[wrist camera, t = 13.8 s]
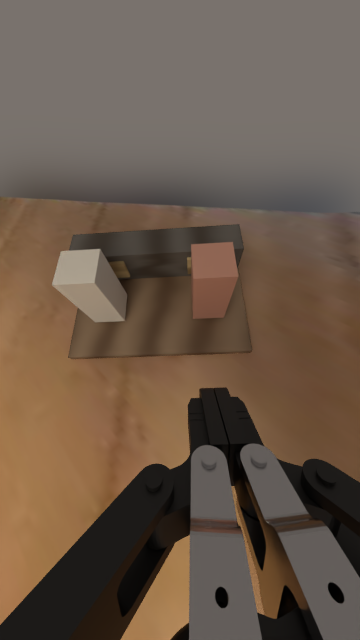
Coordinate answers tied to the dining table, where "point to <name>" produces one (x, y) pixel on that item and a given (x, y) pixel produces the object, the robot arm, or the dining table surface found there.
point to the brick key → (212, 278)
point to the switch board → (160, 297)
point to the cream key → (91, 285)
